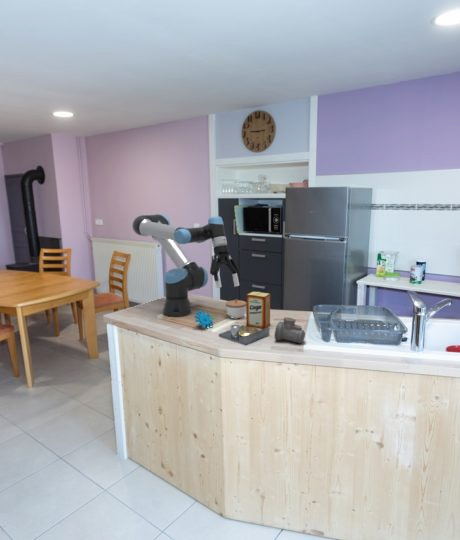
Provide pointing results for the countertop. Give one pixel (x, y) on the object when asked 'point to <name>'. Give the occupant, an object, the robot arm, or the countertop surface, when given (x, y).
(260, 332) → the carrier plate
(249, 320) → the baking soda box
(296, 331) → the pipe fitting
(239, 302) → the lidded jar
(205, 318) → the gear
